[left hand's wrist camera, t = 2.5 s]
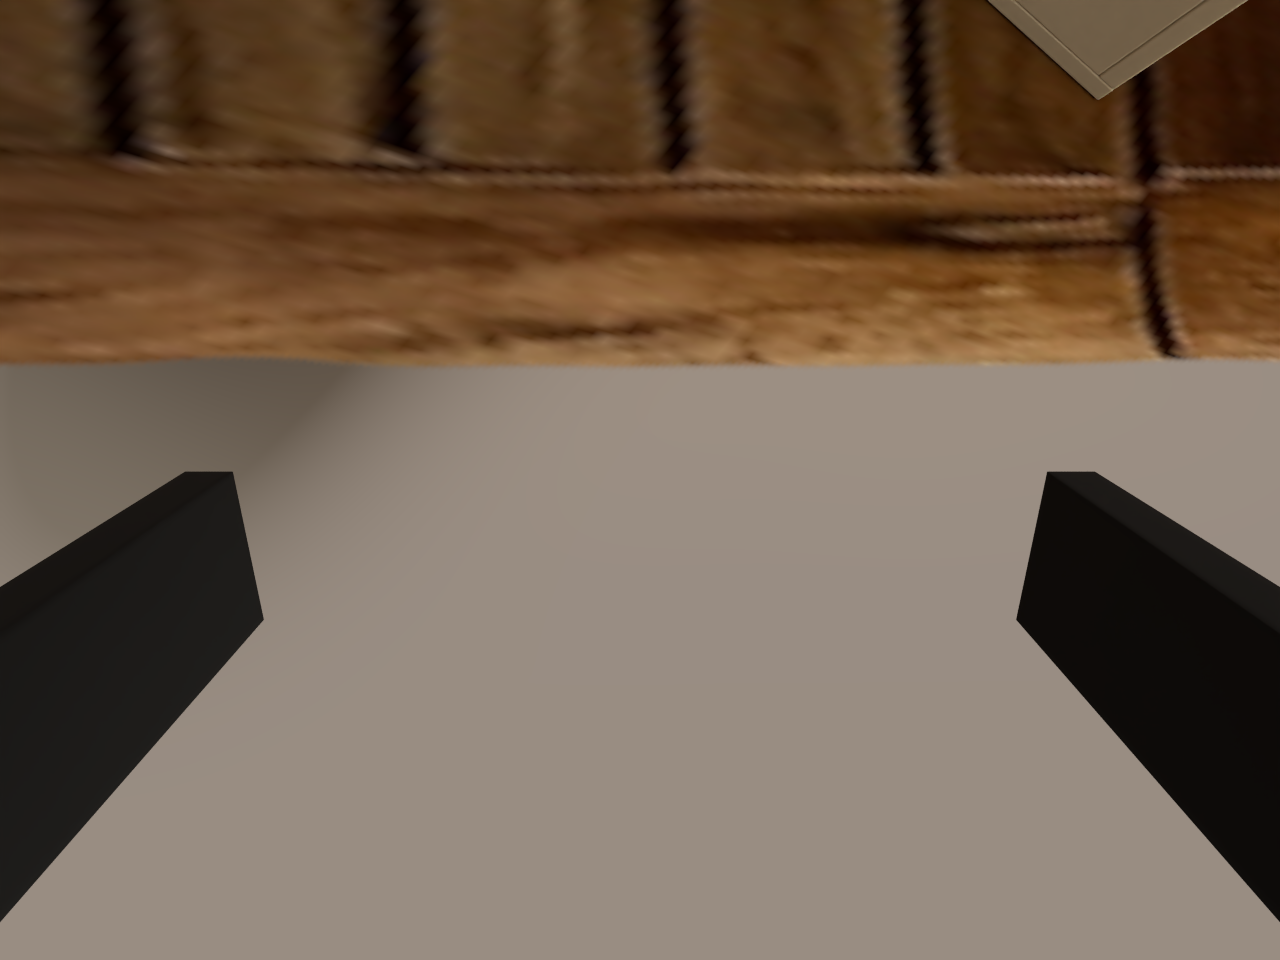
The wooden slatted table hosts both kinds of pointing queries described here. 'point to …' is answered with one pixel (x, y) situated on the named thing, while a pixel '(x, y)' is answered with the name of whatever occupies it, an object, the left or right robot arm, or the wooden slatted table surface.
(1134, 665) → the left robot arm
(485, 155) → the wooden slatted table surface
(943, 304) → the wooden slatted table surface
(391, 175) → the wooden slatted table surface
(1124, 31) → the chest
